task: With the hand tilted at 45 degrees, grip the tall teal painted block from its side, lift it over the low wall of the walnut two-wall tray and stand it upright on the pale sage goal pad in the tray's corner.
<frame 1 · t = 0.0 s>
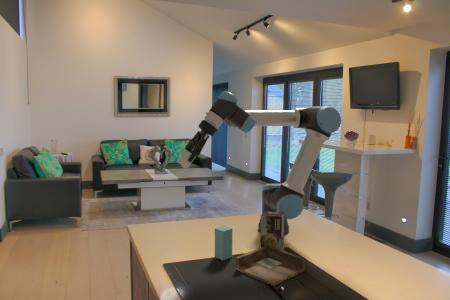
hand: (181, 165, 160), 36 cm above the counter, tool tilted 35°, fingers open, 13 cm apart
teal block: (223, 257, 155), on the counter
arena: (270, 270, 142), on the counter
coffee box: (272, 251, 162), on the counter
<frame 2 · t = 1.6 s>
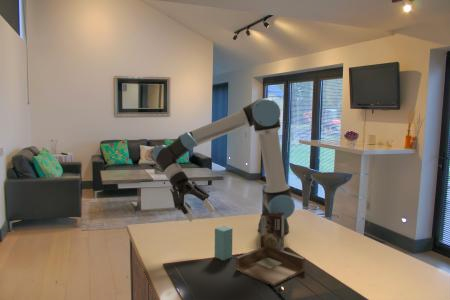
hand: (203, 215, 159), 15 cm above the counter, tool tilted 45°, fingers open, 13 cm apart
nothing on the counter moved.
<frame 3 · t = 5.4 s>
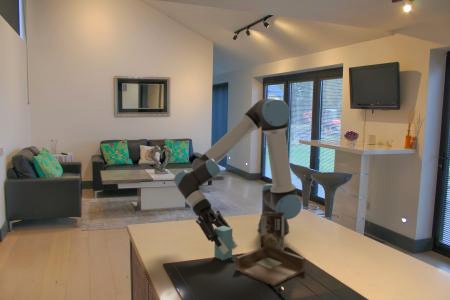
hand: (230, 249, 152), 4 cm above the counter, tool tilted 45°, fingers closed on teal block, 6 cm apart
teal block: (223, 257, 155), on the counter, touching gripper
everything else where it was.
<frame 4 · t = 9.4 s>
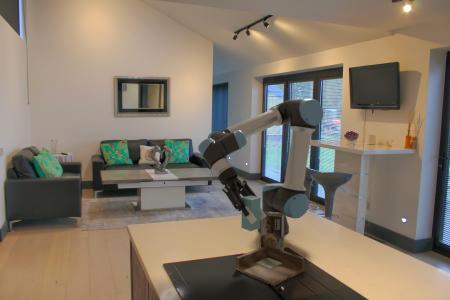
hand: (258, 220, 144), 18 cm above the counter, tool tilted 45°, fingers closed on teal block, 6 cm apart
teal block: (250, 228, 147), point 14 cm above the counter, touching gripper
everything else where it was.
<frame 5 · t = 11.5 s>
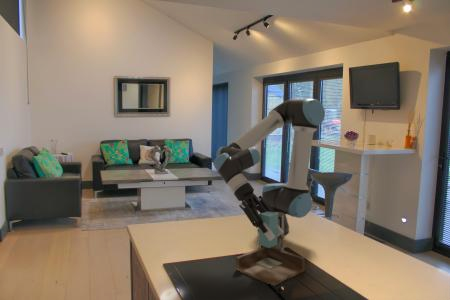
hand: (276, 236, 143), 12 cm above the counter, tool tilted 45°, fingers closed on teal block, 6 cm apart
teal block: (267, 244, 145), point 9 cm above the counter, touching gripper
everything else where it was.
when the fingers open (6 cm above the counter, at t = 13.2 s): teal block drops 1 cm, resting on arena.
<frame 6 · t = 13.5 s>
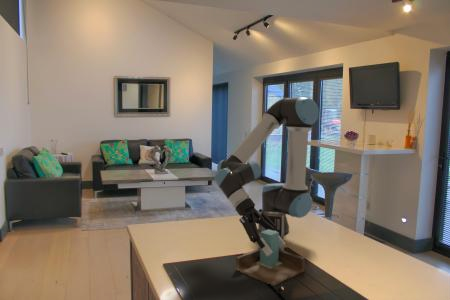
hand: (276, 250, 144), 7 cm above the counter, tool tilted 45°, fingers open, 9 cm apart
teal block: (269, 262, 147), point 1 cm above the counter, touching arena
everything else where it was.
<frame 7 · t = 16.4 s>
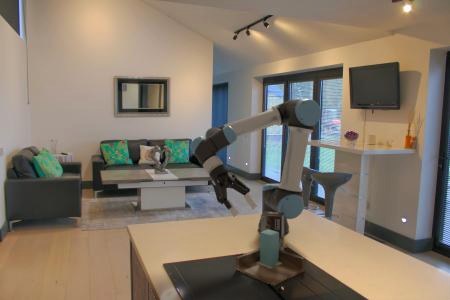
hand: (246, 211, 151), 20 cm above the counter, tool tilted 45°, fingers open, 13 cm apart
nothing on the counter moved.
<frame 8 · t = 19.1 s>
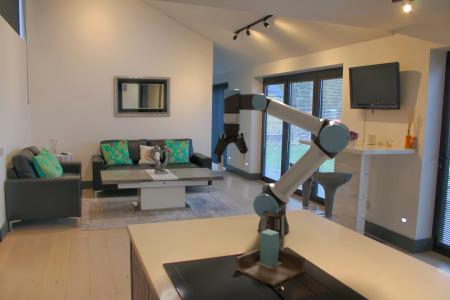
hand: (231, 168, 179), 32 cm above the counter, tool pointing down, fingers open, 13 cm apart
nothing on the counter moved.
at the end: teal block 0.7 cm from the target spot on the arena, point 1.2 cm above the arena's base; teal block tilted 0°; the gripper is holding nothing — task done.
